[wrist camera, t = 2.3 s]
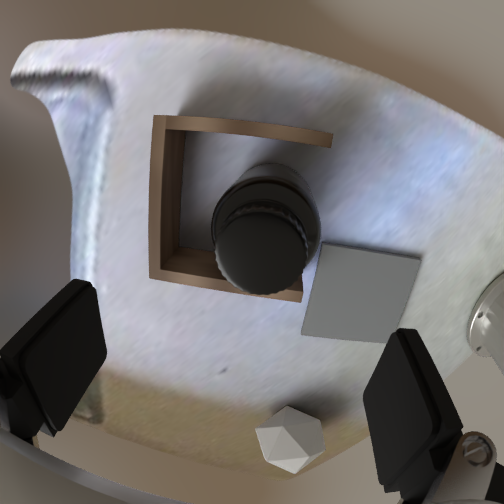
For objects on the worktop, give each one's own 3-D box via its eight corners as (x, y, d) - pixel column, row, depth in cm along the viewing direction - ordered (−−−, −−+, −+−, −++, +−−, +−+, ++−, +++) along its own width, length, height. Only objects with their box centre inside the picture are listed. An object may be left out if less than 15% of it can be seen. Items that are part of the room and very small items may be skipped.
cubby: (323, 132, 24) (333, 133, 19) (298, 274, 29) (301, 302, 24) (176, 116, 24) (153, 115, 20) (168, 254, 30) (149, 278, 25)
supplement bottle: (322, 175, 25) (351, 214, 14) (297, 247, 28) (304, 327, 17) (243, 151, 25) (211, 171, 14) (223, 225, 28) (184, 293, 17)
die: (245, 410, 38) (252, 475, 33) (270, 405, 32) (279, 484, 27) (299, 405, 41) (306, 465, 36) (331, 397, 34) (341, 469, 29)
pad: (419, 258, 27) (421, 260, 27) (388, 340, 31) (389, 343, 31) (322, 242, 28) (322, 244, 27) (301, 331, 31) (301, 335, 31)
